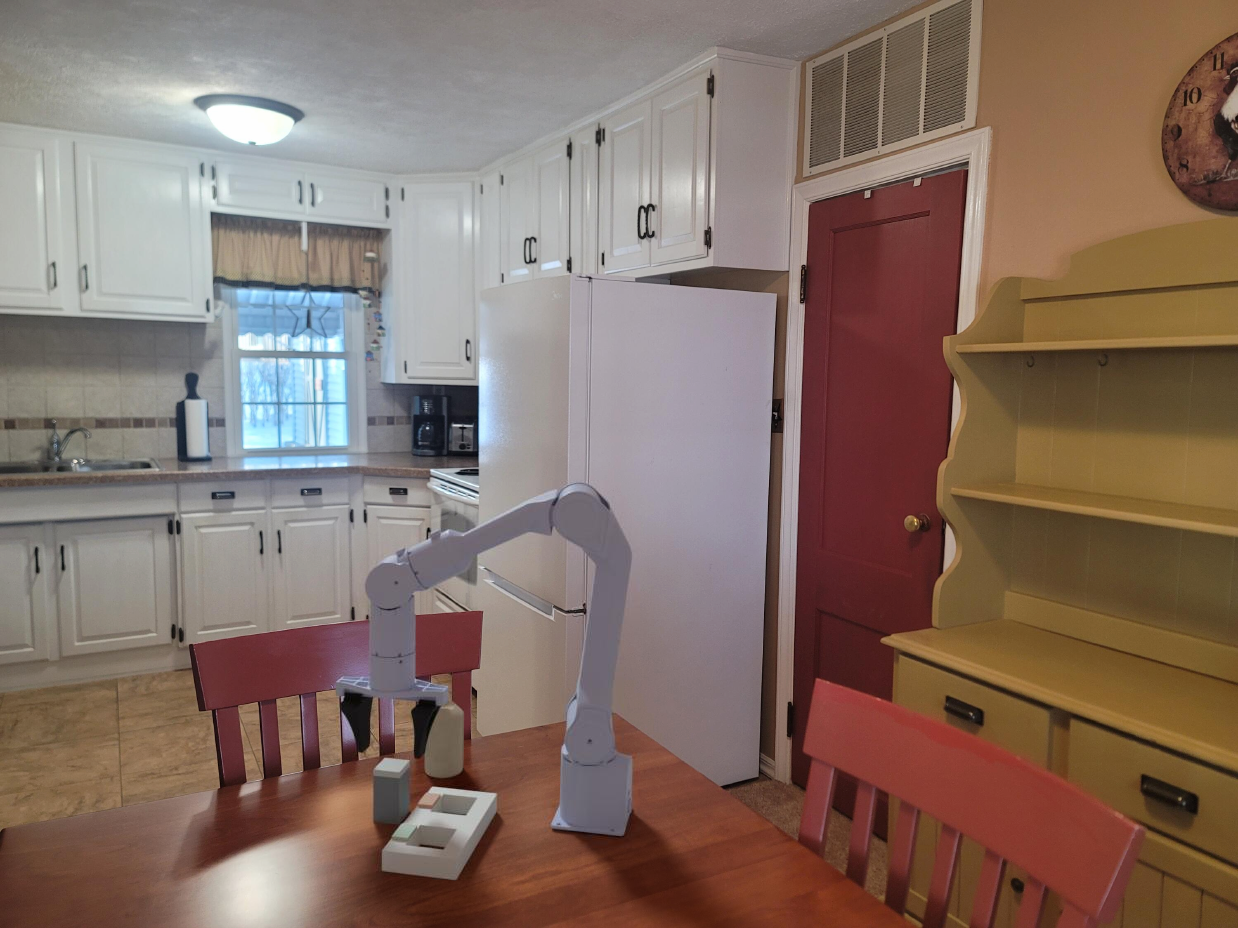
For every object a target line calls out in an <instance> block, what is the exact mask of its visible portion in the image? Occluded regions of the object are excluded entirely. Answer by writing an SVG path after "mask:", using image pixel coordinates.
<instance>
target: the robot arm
mask: <svg viewBox="0 0 1238 928" xmlns="http://www.w3.org/2000/svg"><path fill="white" fill-rule="evenodd" d="M615 515H616V514H615V513H614V510H613V509H612V506H611V505H610V503H609V501H608V500H607V499H606V498H605V497H604V496H603V495H602V494H601V493H600V492H599V491H598V490H597V489H596V488H594V486H592V485H591V484H589V483H586V482H580V481H576V482H571V483H569V484H567V485H565V486H563V487H562V488H561V489H560V490H559V491H558V488H555V489H553V490H549V491H547V492H544V493H542V494H540V495H536V496H534V497H532V498H529V499H527V500H525V501H524V502H522V503H520V504H517V505H516V506H514V507H512V508H509V509H508V510H506V511H504V512H502V513H501V514H498V515H497V516H495V517H492V518H491V519H488V520H487V521H485V522H483V523H481V524H479V525H477V526H476V527H473V528H472V529H470V530H467V531H465V532H461V531H457V530H454V529H447V530H445V531H442V530H441V529H440V528H437V529H435V530H434V531H431V532H430V534H429V538H428V539H426V540H424V541H422V542H419V543H417V544H415V545H413V546H411V547H409V548H407V549H406V548H405V547H404V546H403V547H401V548H399V549H397V550H396V551H395V554H393V555H389V556H387V557H385V558H382V560H381V561H380V562H378V563H377V564H376V565H375V567H373V568H372V569H371V570H370V571H369V573H368V575H367V577H366V580H365V582H364V590H365V594H366V597H367V598H368V600H369V601H370V602H369V603H370V604H369V608H370V614H369V619H368V620H369V623H368V625H369V629H368V631H369V633H368V635H369V637H368V639H369V640H368V641H369V642H368V646H369V647H368V648H369V649H368V650H369V654H368V655H369V656H368V658H369V659H368V661H369V663H368V667H369V670H368V675H369V676H342V677H341V678H339V679H338V680H337V681H335V696H336V697H343V700H342V701H340V703H339V709H340V711H341V713H342V714H343V715H344V717H345V718H346V721H347V722H348V725H349V726H350V729H351V731H352V735H353V738H354V740H355V744H356V749H357V752H358V754H359V753H360V754H361V753H362V754H363V753H365V751H367V750H368V749H369V748H370V746H371V738H372V737H371V734H372V733H371V717H372V708H373V701H374V698H377V699H388V700H396V701H397V700H400V701H409V702H418V704H416V705H415V706H414V707H413V708H411V710H410V715H411V718H412V719H411V720H412V725H413V734H414V736H413V757H414V760H416V759H417V760H420V759H422V757H423V756H425V751H426V745H427V741H428V737H429V733H430V730H431V727H432V725H433V722H434V720H435V718H436V716H437V713H438V711H439V709H440V707H441V706H444V705H445V704H446V703H447V701H450V700H449V698H450V697H449V693H450V686H449V685H441V684H436V683H432V682H428V681H425V680H422V679H416V627H417V626H416V625H417V624H416V622H417V621H416V612H415V609H416V608H415V607H416V605H415V602H416V600H415V599H416V598H415V594H414V593H415V592H424V591H427V590H429V589H432V588H434V587H436V586H438V585H440V584H442V583H444V582H446V581H448V580H450V579H452V578H454V577H457V576H459V575H460V574H463V573H464V572H467V571H469V569H470V568H471V565H472V562H473V560H474V556H477V555H479V554H482V553H484V552H486V551H488V550H491V549H493V548H496V547H498V546H500V545H503V544H504V543H508V542H509V541H511V540H514V539H516V538H519V537H521V536H523V535H526V534H528V533H534V534H538V535H543V536H547V537H548V536H550V537H551V536H552V534H553V529H555V530H556V532H557V533H558V534H559V535H560V536H561V537H563V539H564V540H567V541H569V542H570V543H572V544H574V545H576V546H578V547H579V548H581V549H582V551H584V553H585V554H586V555H587V556H588V558H589V559H590V560H591V561H592V562H593V564H594V571H593V577H592V584H591V585H592V586H591V590H590V591H591V593H590V596H589V597H590V598H589V605H588V612H587V619H586V624H585V625H586V626H585V631H584V632H585V633H584V640H583V645H582V654H581V661H580V669H579V672H578V673H579V674H578V678H577V683H576V689H575V692H574V695H573V696H572V698H571V699H570V700H569V702H568V704H567V705H566V710H565V719H566V726H565V727H566V729H565V731H566V732H565V735H564V743H563V745H562V746H561V751H560V784H559V785H560V786H559V788H560V791H559V805H558V807H557V809H556V812H555V815H554V817H553V818H552V822H551V824H550V827H551V829H556V830H565V831H573V832H582V833H583V832H584V833H591V834H600V835H608V836H619V837H622V836H624V835H625V833H626V829H627V825H628V822H629V818H630V815H631V813H632V808H633V798H632V795H633V793H632V792H633V763H634V762H633V757H632V756H631V755H628V754H623V753H622V752H619V751H617V746H616V744H615V740H616V738H615V732H614V729H613V728H614V726H613V709H612V708H613V691H614V683H615V682H614V681H615V677H616V670H617V663H618V656H619V650H620V649H619V648H620V642H621V641H620V640H621V637H622V636H621V635H622V628H623V621H624V615H625V608H626V607H625V606H626V601H627V595H628V587H629V580H630V574H631V567H632V560H633V552H632V548H631V545H630V542H629V541H628V540H627V539H628V538H627V537H626V536H625V535H626V534H625V533H624V531H623V529H622V527H621V525H620V522H619V521H618V519H617V517H616V516H615Z"/></svg>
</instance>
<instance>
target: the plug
mask: <svg viewBox="0 0 1238 928" xmlns="http://www.w3.org/2000/svg"><path fill="white" fill-rule="evenodd" d="M372 771H373V773H372V774H373V776H372V779H373V782H372V783H373V785H372V788H373V791H372V792H373V793H372V794H373V795H372V798H373V799H372V800H373V801H372V804H373V806H372V808H373V809H372V812H373V815H372V820H373V822H375V823H383V824H392V825H401V824H402V823H401V822H403V820H404V819H405V818H406V817H407V815H408V814H409V812H410V810H411V809H410V808H411V807H410V806H411V805H410V803H411V802H410V801H411V799H410V798H411V792H410V791H411V760H409V759H400V758H392V757H384V758H383V759H382V760H381V761H380V762H379V763H378V764H377V765H376V766H375V767H374V769H372Z"/></svg>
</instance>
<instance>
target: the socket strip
mask: <svg viewBox="0 0 1238 928" xmlns="http://www.w3.org/2000/svg"><path fill="white" fill-rule="evenodd" d="M424 793H425V794H424V795H423V796H422V797H421V799H420V800H419V801H418V803H417V805H416V806H415V808H414V809H413V810H412V812H411V813H410V814H409V815H408V816H407V818H406V819H405V821H404V822H403V823H400V824H399V826H398V828H397V829H396V830H395V831H394V833H393V834H392V835H391V839H390V840H389V841H388V842H387V844H386V845H385V846H384V847H383V848H382V850H381V872H388V873H395V874H404V875H411V876H419V877H427V878H435V879H445V880H451V881H457V879H458V878H459V876H460V875H461V873H462V872H463V869H464V868H465V866H466V865H467V863H468V861H469V859H470V857H471V856H472V854H473V852H474V851H475V849H476V847H477V845H479V842H480V841H481V839H482V837H483V836H484V835H485V832H486V830H487V829H488V827H489V826H490V824H491V822H492V820H493V819H494V817H495V815H496V813H497V811H498V810H497V809H498V807H497V806H498V793H497V792H496V793H495V792H486V791H485V792H483V791H477V790H475V791H474V790H466V789H457V788H448V787H438V786H431V787H430V789H429V790H428V791H427V792H424ZM420 845H423V846H431V847H423V846H420ZM432 846H434V847H440V848H441V847H442V848H443V849H439V848H432Z"/></svg>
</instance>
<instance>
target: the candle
mask: <svg viewBox="0 0 1238 928" xmlns="http://www.w3.org/2000/svg"><path fill="white" fill-rule="evenodd" d="M464 720H465V713H464V711H463V709H462V708H460V707H459V706H458V705H457V704H456V703H455V702H454V701H453V700H448V701H447V703H446V704H445V705H444V706H441V707H440V709H439V711H438V713H437V716H436V718H435V720H434V722H433V725H432V727H431V730H430V733H429V737H428V741H427V745H426V751H425V754H424V771H425V774H426V775H427V776H429V777H432V778H436V779H447V778H452V777H455V776H458V775H459V774H461V772H462V771H463V769H464V735H465V734H464V725H465V723H464V722H465V721H464Z"/></svg>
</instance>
